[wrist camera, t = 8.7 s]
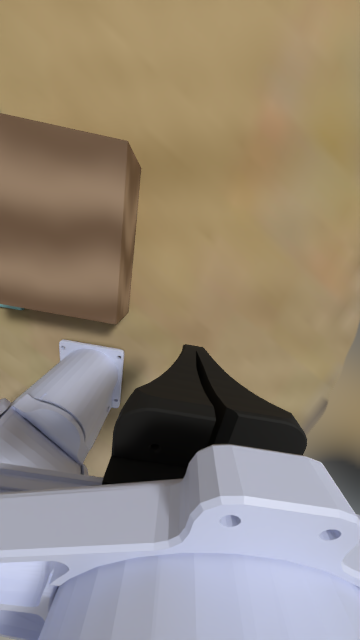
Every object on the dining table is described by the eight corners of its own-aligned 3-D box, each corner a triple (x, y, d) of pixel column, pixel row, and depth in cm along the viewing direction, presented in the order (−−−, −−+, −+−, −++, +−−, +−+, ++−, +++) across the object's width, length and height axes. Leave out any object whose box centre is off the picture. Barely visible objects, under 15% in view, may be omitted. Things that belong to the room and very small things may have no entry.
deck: (128, 312, 21) (116, 324, 17) (25, 293, 20) (-12, 301, 17) (141, 168, 16) (127, 141, 12) (6, 139, 16) (-50, 102, 12)
